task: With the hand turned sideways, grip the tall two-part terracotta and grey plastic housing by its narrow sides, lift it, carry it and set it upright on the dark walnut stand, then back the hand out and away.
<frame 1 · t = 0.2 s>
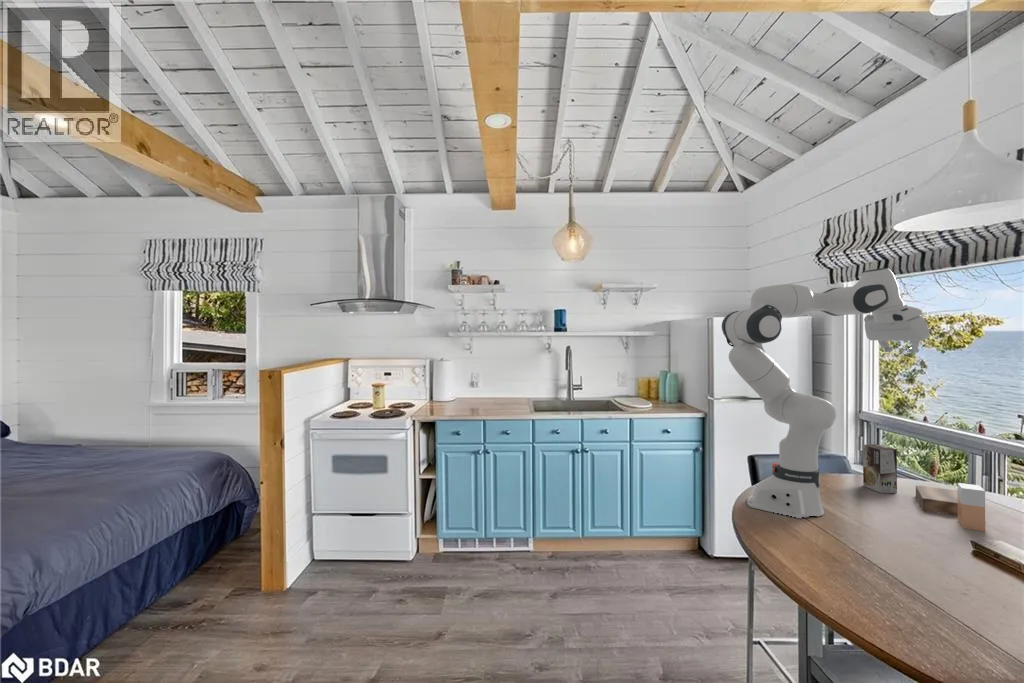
hand: (901, 352, 159), 52 cm above the table, tool tilted 20°, fingers open, 8 cm apart
coffee box: (879, 489, 176), on the table
housing: (971, 526, 141), on the table
stand: (946, 506, 157), on the table
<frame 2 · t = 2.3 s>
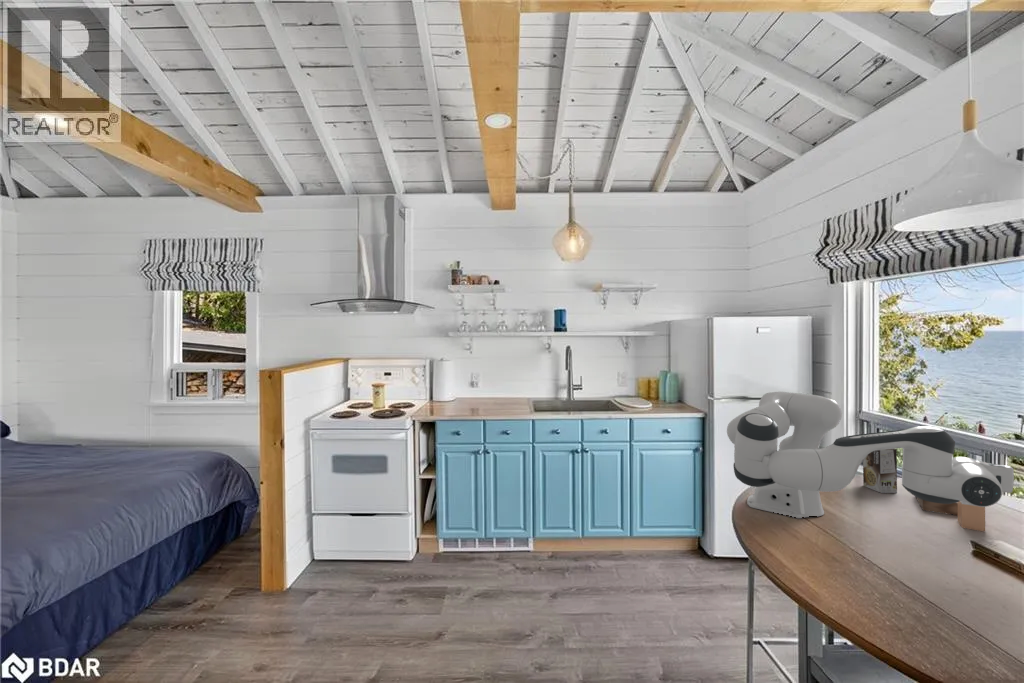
hand: (954, 462, 133), 21 cm above the table, tool horizontal, fingers open, 8 cm apart
nothing on the table moved.
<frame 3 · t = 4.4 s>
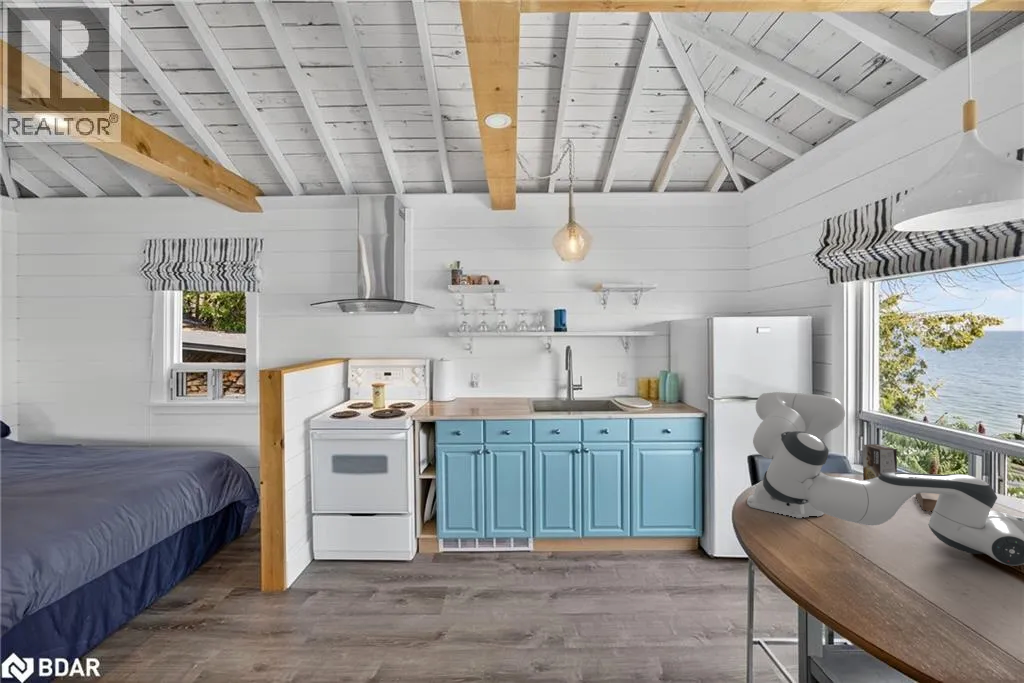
hand: (980, 511, 134), 7 cm above the table, tool horizontal, fingers open, 8 cm apart
nothing on the table moved.
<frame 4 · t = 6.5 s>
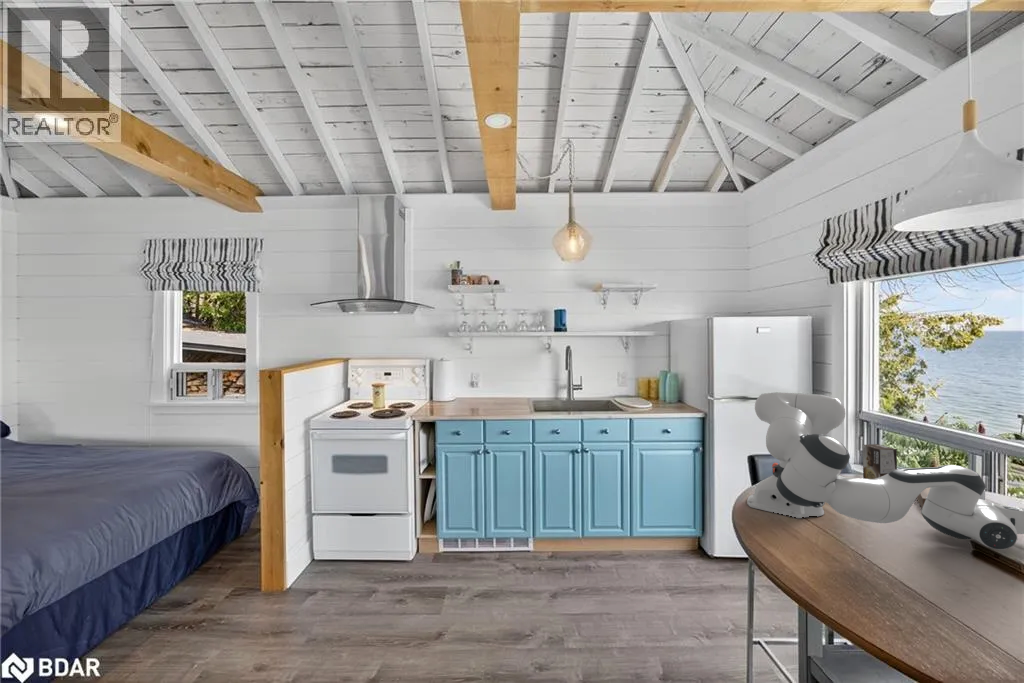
hand: (969, 501, 142), 7 cm above the table, tool horizontal, fingers closed on housing, 5 cm apart
housing: (971, 526, 141), on the table, touching gripper
everything else where it was.
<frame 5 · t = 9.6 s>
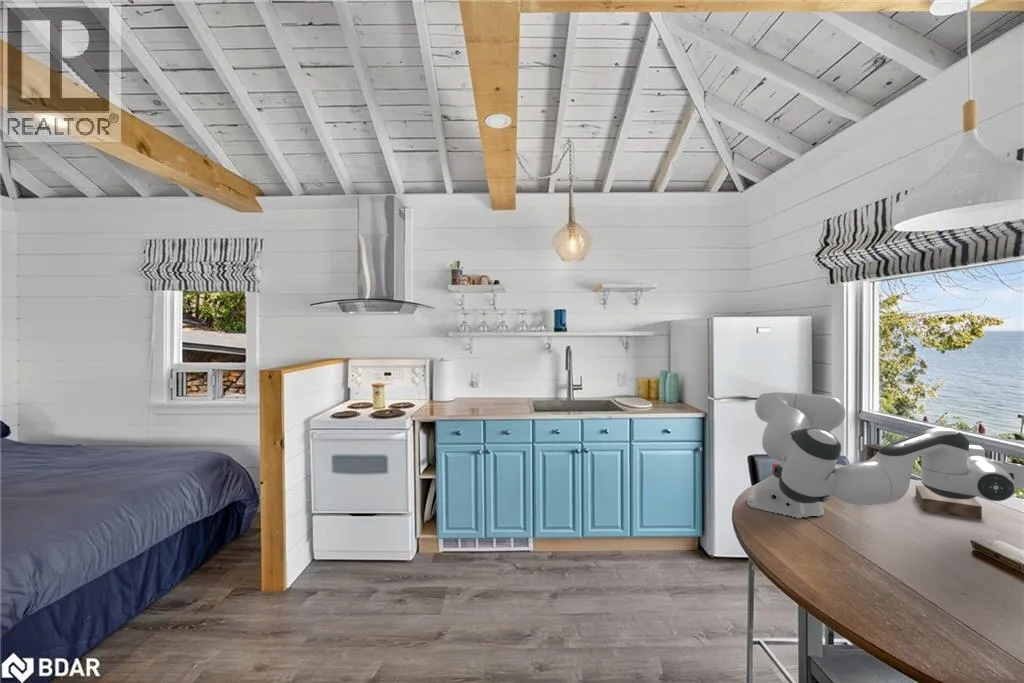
hand: (969, 461, 144), 19 cm above the table, tool horizontal, fingers closed on housing, 5 cm apart
housing: (970, 485, 143), point 12 cm above the table, touching gripper
everything else where it was.
when the fingers open (12 cm above the table, at t = 12.7 s): housing drops 1 cm, resting on stand.
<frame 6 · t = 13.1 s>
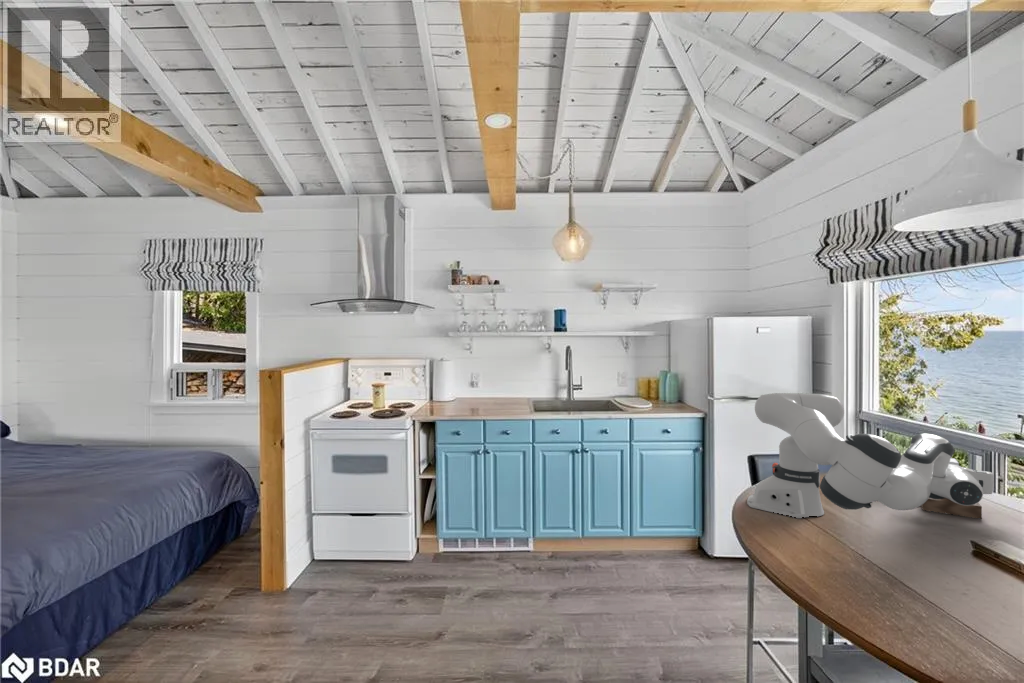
hand: (945, 469, 158), 12 cm above the table, tool horizontal, fingers open, 8 cm apart
housing: (946, 495, 157), point 4 cm above the table, touching stand
everything else where it was.
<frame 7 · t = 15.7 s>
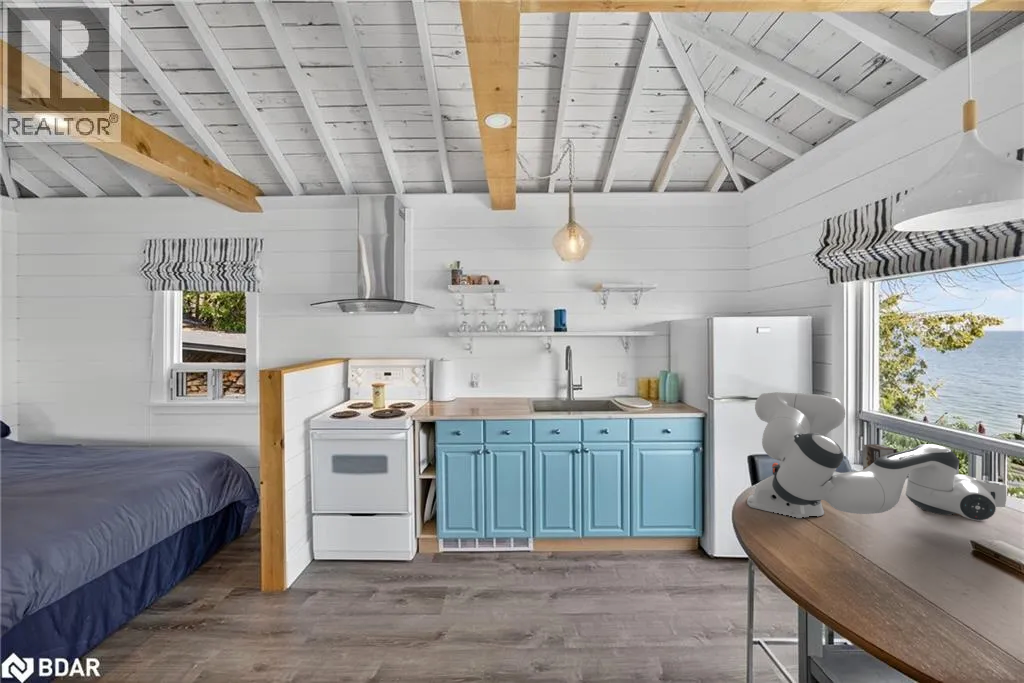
hand: (953, 478, 148), 13 cm above the table, tool horizontal, fingers open, 8 cm apart
nothing on the table moved.
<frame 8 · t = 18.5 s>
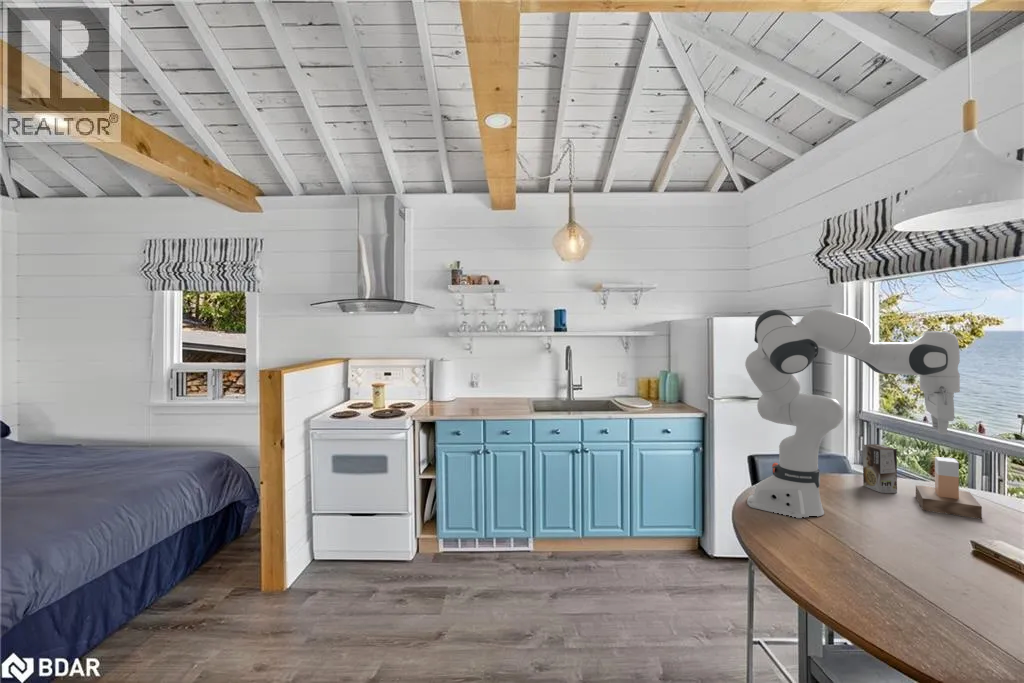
hand: (939, 431, 140), 29 cm above the table, tool pointing down, fingers open, 8 cm apart
nothing on the table moved.
at the end: housing inside the target area on the stand (0.1 cm from its centre), point 4.0 cm above the stand's base; housing tilted 0°; the gripper is holding nothing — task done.
